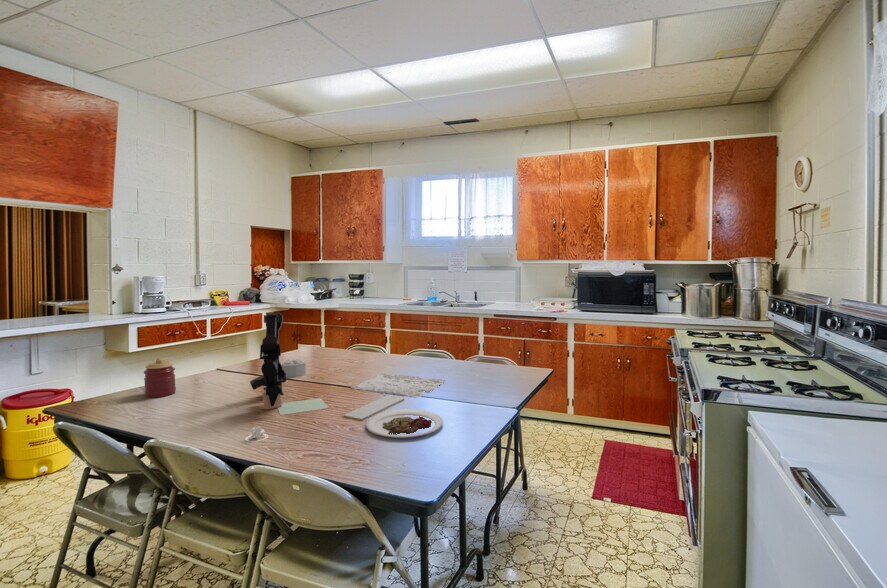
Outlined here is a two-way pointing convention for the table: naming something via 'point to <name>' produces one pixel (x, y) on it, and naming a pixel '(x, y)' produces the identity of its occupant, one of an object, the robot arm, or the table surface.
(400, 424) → the plated food
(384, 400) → the baseboard
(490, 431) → the table surface
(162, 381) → the canister
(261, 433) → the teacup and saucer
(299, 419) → the table surface
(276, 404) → the tile
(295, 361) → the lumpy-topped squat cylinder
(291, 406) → the mat
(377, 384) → the carpet tile
